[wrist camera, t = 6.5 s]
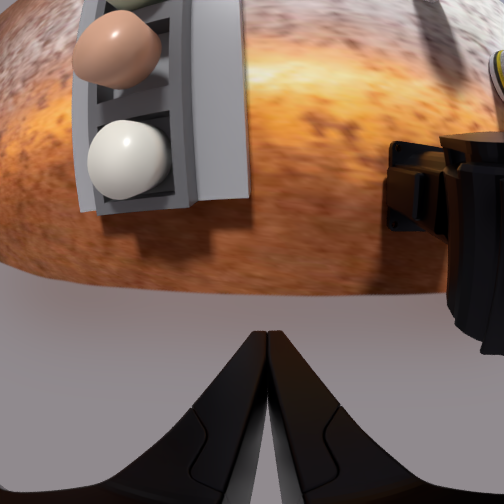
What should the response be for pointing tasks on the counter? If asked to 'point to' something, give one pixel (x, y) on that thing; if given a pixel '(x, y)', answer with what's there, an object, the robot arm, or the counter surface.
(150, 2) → the button sage
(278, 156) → the counter surface
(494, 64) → the pill bottle
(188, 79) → the button panel
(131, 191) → the button ivory
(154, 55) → the button terracotta
